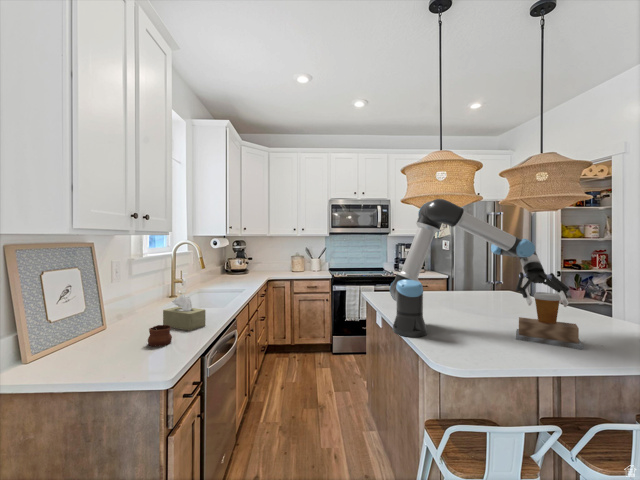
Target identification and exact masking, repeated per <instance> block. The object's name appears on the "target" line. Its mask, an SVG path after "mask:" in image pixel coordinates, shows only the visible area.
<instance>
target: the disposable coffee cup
mask: <svg viewBox="0 0 640 480" xmlns="http://www.w3.org/2000/svg"><path fill="white" fill-rule="evenodd" d="M533 297H534V301H535V308H536V315H537V319H538V321H539V322H542V323H549V324H555V323H556V322H558V321H557V320H558V313H559V307H560V302H561V298H560V295H559V293H553V292H543V291H542V292H541V291H537V292H534V295H533Z"/></svg>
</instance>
